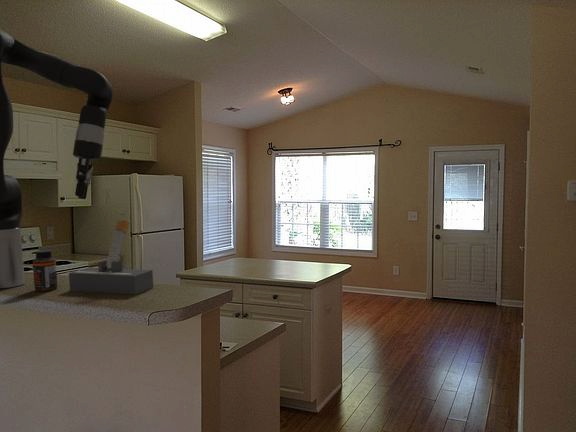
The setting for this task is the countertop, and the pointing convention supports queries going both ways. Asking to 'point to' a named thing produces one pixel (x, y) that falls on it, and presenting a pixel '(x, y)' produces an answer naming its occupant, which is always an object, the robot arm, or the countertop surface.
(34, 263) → the supplement bottle
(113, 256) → the lever
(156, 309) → the countertop surface
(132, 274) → the block
